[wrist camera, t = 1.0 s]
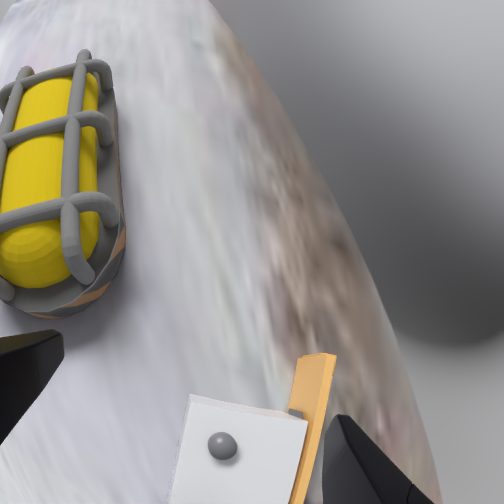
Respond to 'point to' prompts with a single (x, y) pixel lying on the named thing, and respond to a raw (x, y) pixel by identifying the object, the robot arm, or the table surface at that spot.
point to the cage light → (59, 188)
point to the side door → (310, 412)
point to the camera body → (236, 454)
